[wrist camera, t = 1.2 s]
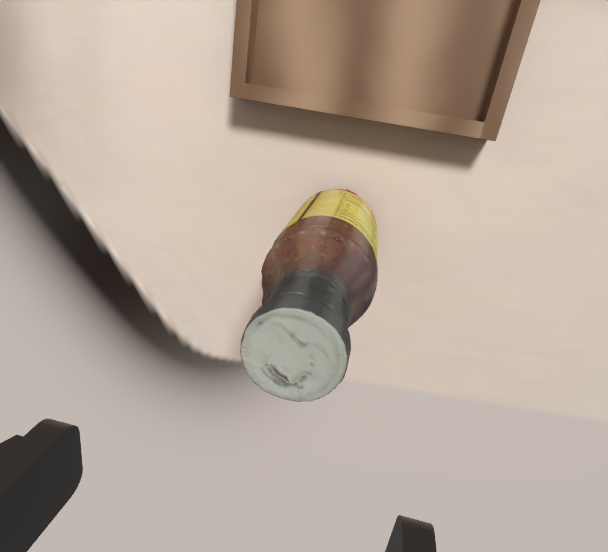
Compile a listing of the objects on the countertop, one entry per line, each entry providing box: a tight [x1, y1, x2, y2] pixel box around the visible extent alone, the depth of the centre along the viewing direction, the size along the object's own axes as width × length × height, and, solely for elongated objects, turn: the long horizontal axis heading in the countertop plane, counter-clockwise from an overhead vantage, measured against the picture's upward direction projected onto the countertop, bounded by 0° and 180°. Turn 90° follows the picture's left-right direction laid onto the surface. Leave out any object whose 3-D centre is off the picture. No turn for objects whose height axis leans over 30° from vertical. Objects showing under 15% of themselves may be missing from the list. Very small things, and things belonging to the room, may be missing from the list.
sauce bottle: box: [240, 189, 378, 402], centre depth 24 cm, size 6×6×20 cm
